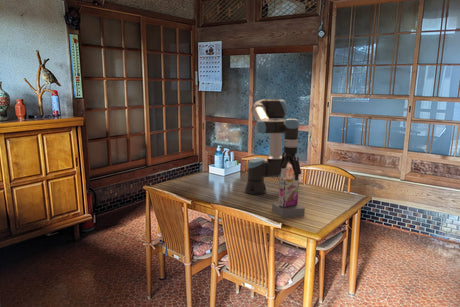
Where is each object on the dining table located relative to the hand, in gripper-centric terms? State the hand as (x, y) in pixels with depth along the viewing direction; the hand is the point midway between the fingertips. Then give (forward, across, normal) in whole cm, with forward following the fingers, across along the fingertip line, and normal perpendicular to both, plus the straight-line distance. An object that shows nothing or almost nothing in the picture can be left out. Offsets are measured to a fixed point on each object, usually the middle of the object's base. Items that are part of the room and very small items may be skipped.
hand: (289, 182), depth 203 cm
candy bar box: (+14, +1, 0) cm, 14 cm away
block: (+19, 0, 0) cm, 19 cm away
